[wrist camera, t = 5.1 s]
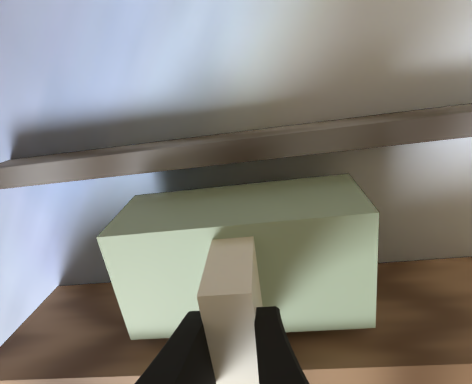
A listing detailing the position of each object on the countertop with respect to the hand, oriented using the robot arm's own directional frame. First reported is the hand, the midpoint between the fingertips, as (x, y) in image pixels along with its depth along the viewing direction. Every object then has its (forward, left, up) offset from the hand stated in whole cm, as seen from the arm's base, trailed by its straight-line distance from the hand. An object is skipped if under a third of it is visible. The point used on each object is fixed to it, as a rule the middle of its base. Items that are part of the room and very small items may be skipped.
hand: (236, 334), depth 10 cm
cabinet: (0, 0, -6) cm, 6 cm away
